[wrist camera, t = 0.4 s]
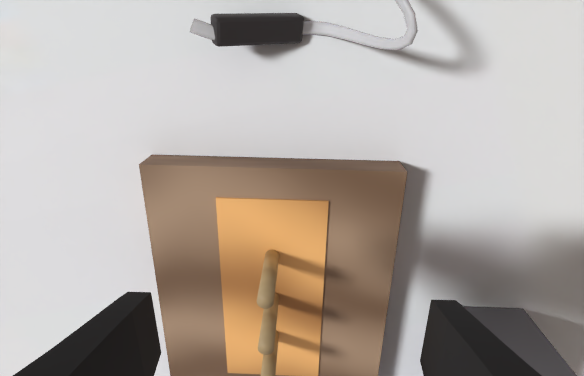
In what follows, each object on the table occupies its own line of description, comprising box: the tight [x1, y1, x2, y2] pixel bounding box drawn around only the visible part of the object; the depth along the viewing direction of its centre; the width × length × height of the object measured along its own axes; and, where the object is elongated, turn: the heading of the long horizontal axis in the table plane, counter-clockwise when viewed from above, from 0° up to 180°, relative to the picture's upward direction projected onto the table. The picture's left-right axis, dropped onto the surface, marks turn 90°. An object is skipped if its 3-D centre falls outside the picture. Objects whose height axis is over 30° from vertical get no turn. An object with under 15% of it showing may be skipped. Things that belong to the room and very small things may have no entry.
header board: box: [139, 155, 407, 376], centre depth 18 cm, size 14×12×5 cm
